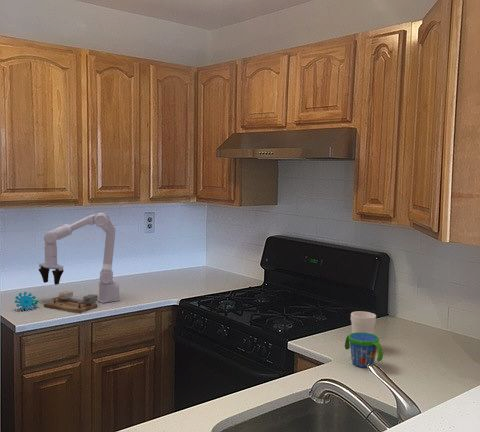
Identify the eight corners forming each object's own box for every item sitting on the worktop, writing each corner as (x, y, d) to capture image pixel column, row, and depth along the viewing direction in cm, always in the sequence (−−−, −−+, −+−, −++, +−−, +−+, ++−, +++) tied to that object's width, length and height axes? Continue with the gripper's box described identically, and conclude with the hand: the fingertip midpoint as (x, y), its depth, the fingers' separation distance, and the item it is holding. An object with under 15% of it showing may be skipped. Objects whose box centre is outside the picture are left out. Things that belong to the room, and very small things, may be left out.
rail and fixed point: (63, 298, 266) (63, 290, 266) (97, 303, 258) (97, 295, 257) (46, 303, 256) (46, 295, 256) (81, 309, 248) (81, 300, 247)
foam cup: (358, 341, 216) (360, 310, 214) (379, 347, 209) (380, 315, 208) (344, 346, 209) (346, 314, 208) (365, 353, 202) (366, 319, 201)
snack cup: (336, 359, 195) (337, 332, 194) (358, 354, 201) (359, 328, 200) (367, 374, 182) (368, 345, 181) (389, 369, 187) (391, 340, 186)
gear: (16, 309, 245) (14, 290, 250) (12, 316, 248) (11, 297, 254) (41, 309, 251) (39, 291, 257) (37, 316, 255) (35, 298, 260)
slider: (66, 297, 265) (66, 290, 265) (72, 298, 264) (72, 291, 263) (49, 302, 255) (49, 295, 255) (56, 303, 254) (56, 296, 253)
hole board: (61, 301, 266) (61, 297, 266) (97, 307, 257) (97, 303, 257) (43, 307, 255) (43, 303, 255) (80, 313, 246) (80, 309, 246)
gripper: (33, 255, 261) (34, 282, 263) (55, 258, 255) (55, 286, 256) (45, 253, 268) (45, 280, 269) (66, 256, 261) (66, 284, 262)
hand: (51, 283), depth 263 cm, fingers open, 7 cm apart
